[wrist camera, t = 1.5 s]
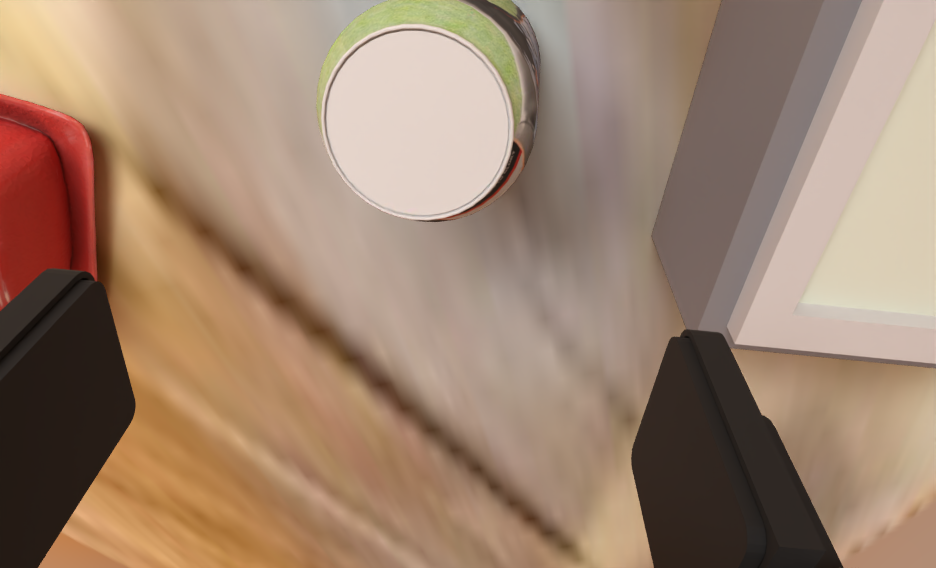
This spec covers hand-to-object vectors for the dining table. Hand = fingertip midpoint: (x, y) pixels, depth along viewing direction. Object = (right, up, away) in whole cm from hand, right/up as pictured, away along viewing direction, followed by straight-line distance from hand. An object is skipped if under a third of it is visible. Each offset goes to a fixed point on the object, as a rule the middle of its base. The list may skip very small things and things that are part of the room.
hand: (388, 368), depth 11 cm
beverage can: (+1, +11, +15) cm, 19 cm away
